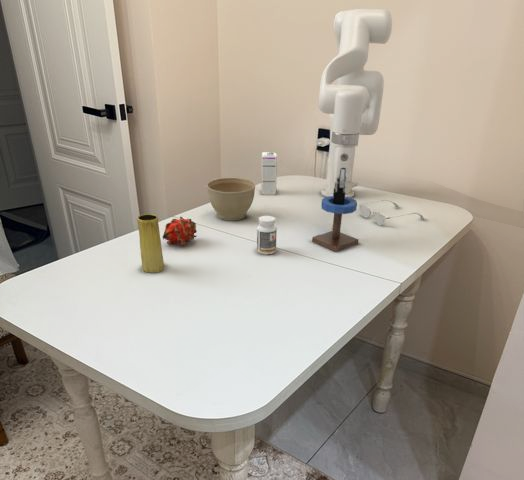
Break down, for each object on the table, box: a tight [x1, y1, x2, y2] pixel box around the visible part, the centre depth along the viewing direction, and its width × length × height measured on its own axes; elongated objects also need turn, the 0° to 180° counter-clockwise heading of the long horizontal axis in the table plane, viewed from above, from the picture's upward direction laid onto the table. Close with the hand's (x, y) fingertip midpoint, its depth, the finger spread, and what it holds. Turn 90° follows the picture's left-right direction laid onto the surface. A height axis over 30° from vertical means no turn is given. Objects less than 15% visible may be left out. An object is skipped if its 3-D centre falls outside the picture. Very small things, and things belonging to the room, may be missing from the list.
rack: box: [311, 213, 359, 253], centre depth 149 cm, size 10×10×12 cm
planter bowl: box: [206, 177, 256, 221], centre depth 167 cm, size 16×16×11 cm
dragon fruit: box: [162, 216, 198, 247], centre depth 147 cm, size 8×8×12 cm
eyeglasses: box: [358, 199, 425, 226], centre depth 171 cm, size 15×18×4 cm
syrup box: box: [260, 151, 278, 196], centre depth 189 cm, size 6×6×14 cm
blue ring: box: [321, 196, 358, 215], centre depth 146 cm, size 10×10×2 cm
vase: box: [136, 213, 166, 274], centre depth 131 cm, size 6×6×14 cm
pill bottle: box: [256, 215, 277, 255], centre depth 143 cm, size 6×6×10 cm
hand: (338, 203), depth 149 cm, fingers closed on blue ring, 2 cm apart
